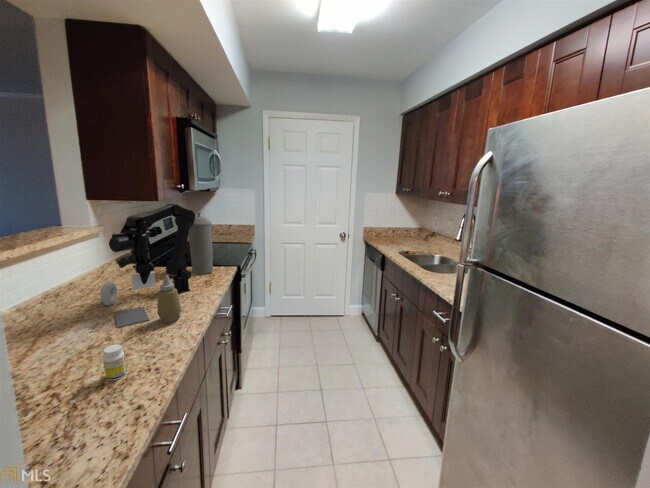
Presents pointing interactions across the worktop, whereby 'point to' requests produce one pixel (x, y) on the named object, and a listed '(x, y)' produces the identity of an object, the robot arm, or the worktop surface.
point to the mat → (131, 317)
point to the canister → (201, 245)
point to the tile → (138, 282)
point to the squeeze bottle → (168, 302)
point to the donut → (108, 293)
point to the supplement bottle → (114, 362)
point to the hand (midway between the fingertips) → (144, 283)
